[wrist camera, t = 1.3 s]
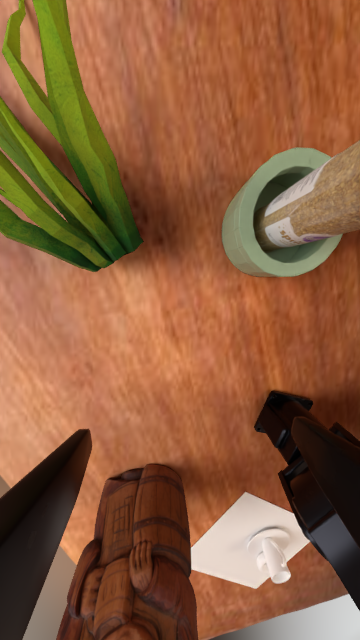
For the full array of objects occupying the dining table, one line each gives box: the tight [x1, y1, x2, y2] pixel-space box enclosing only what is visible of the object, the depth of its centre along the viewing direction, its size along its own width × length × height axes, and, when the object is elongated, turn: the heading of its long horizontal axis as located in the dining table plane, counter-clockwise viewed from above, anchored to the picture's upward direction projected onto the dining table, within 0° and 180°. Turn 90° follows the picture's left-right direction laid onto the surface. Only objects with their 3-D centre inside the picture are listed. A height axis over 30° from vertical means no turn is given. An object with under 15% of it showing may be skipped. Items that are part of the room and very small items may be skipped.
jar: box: [222, 148, 343, 277], centre depth 16 cm, size 9×9×4 cm
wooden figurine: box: [56, 464, 198, 640], centre depth 17 cm, size 12×6×18 cm, turn 102°
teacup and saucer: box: [246, 528, 291, 583], centre depth 30 cm, size 9×8×4 cm
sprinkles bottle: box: [253, 140, 360, 253], centre depth 12 cm, size 5×5×14 cm
